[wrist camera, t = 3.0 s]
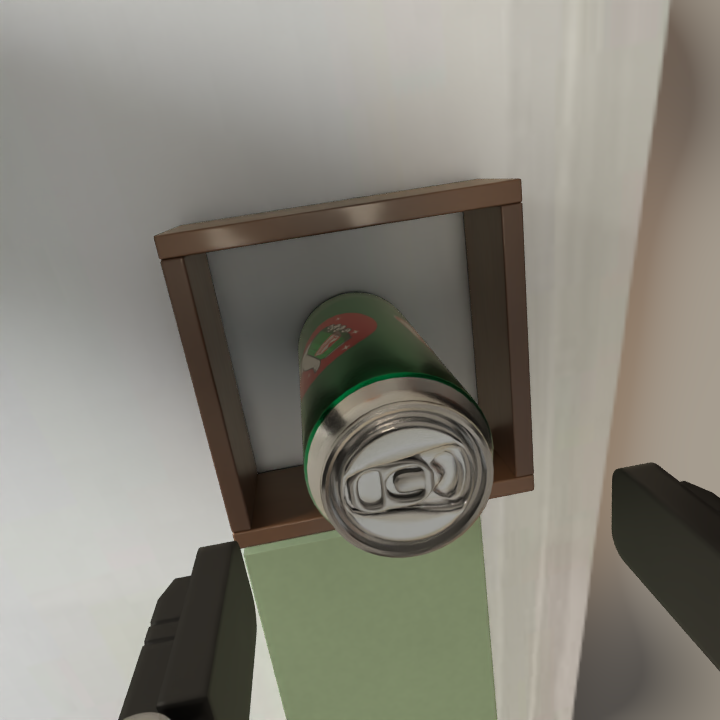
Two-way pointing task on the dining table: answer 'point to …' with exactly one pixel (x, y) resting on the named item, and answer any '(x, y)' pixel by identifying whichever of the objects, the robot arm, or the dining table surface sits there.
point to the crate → (473, 197)
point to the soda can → (388, 431)
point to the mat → (376, 629)
